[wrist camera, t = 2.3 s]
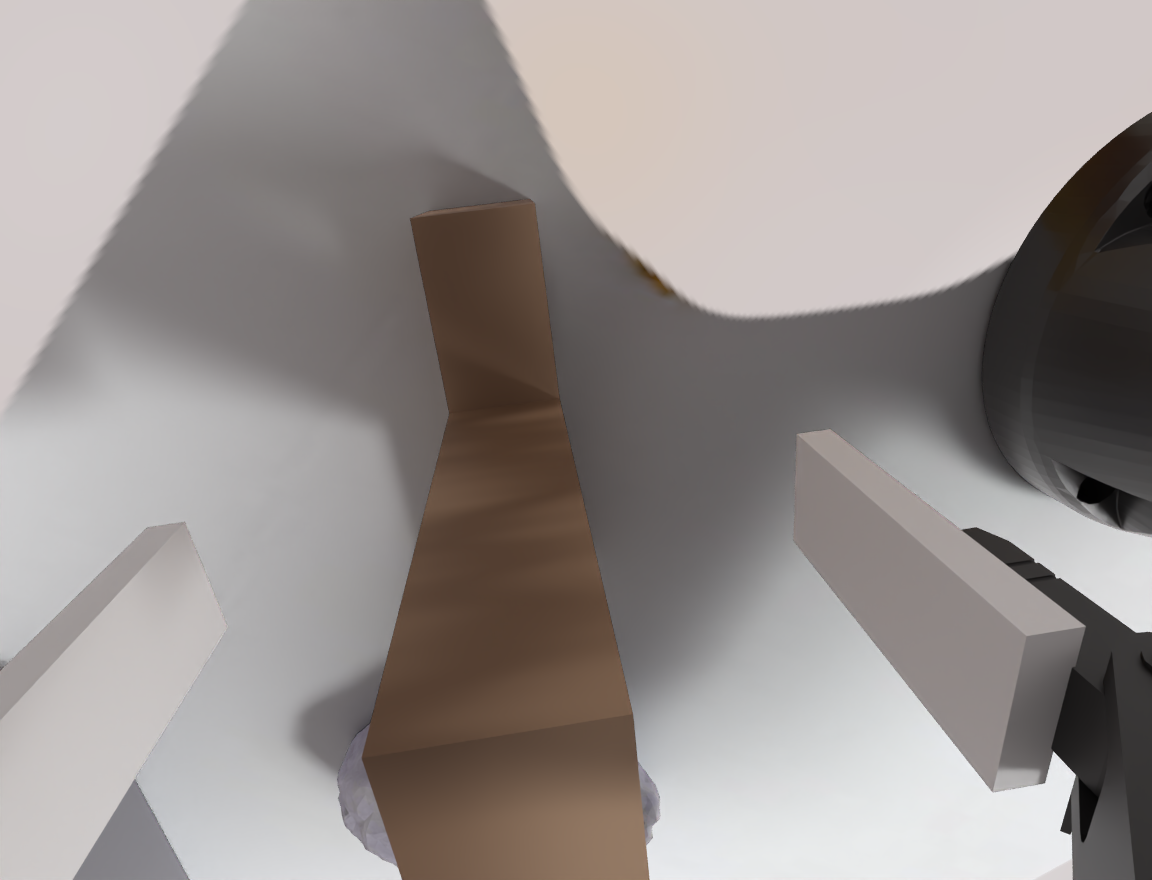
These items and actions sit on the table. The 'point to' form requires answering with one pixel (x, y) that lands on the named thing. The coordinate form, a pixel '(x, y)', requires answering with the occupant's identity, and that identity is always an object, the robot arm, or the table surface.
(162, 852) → the block
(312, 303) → the table surface
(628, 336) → the table surface
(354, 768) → the stone block
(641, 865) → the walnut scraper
